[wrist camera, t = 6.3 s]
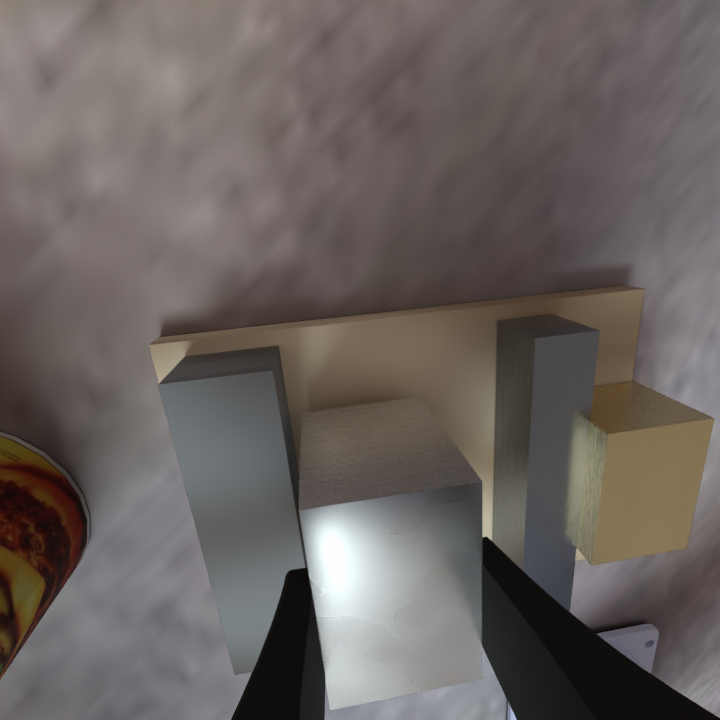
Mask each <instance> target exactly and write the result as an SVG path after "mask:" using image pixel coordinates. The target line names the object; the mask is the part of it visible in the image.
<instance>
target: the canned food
mask: <svg viewBox="0 0 720 720" xmlns="http://www.w3.org/2000/svg"><path fill="white" fill-rule="evenodd" d="M89 539H90V515H89V512H88V509H87V506H86V503H85V500H84V497H83V494H82V492H81V491H80V490H79V488H78V487H77V485H76V484H75V482H74V481H73V480H72V478H71V477H70V475H69V474H68V472H67V471H66V470H64V469H63V468H62V467H61V466H60V465H59V464H58V463H56V462H55V461H54V460H53V459H52V458H51V457H50V456H48V455H47V454H46V453H45V452H43V451H41V450H40V449H38V448H36V447H34V446H32V445H30V444H29V443H27V442H25V441H23V440H21V439H19V438H18V437H15V436H12V435H9V434H6V433H3V432H0V679H1V677H2V676H3V674H4V673H5V672H6V670H7V669H8V667H9V666H10V664H11V663H12V661H13V660H14V658H15V657H16V655H17V654H18V652H19V651H20V649H21V648H22V646H23V645H24V644H25V642H26V641H27V639H28V638H29V636H30V635H31V633H32V632H33V630H34V629H35V627H36V626H37V624H38V623H39V621H40V620H41V618H42V617H43V616H44V614H45V613H46V611H47V610H48V608H49V607H50V605H51V604H52V602H53V601H54V599H55V598H56V596H57V595H58V593H59V592H60V591H61V589H62V588H63V586H64V585H65V583H66V582H67V580H68V579H69V577H70V576H71V574H72V573H73V571H74V570H75V568H76V567H77V565H78V564H79V563H80V561H81V560H82V557H83V554H84V552H85V549H86V547H87V544H88V541H89Z"/></svg>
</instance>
